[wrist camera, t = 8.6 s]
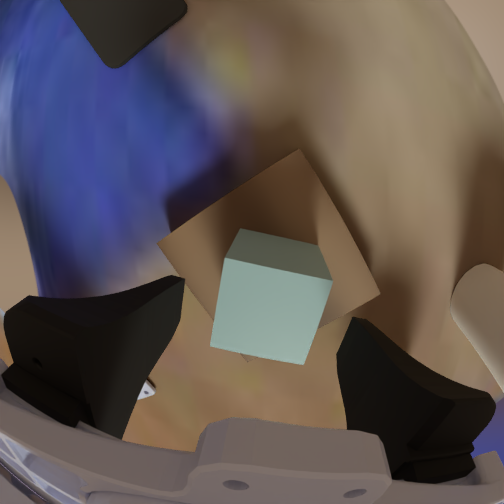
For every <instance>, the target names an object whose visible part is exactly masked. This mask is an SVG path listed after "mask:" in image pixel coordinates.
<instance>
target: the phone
mask: <svg viewBox="0 0 504 504" xmlns="http://www.w3.org/2000/svg"><path fill="white" fill-rule="evenodd" d="M60 2H61V3H62V4H63V6H64V7H65V9H66V10H67V11H68V13H69V14H70V16H71V17H72V19H73V20H74V21H75V23H76V24H77V26H78V27H79V29H80V30H81V31H82V33H83V34H84V36H85V37H86V38H87V40H88V41H89V43H90V44H91V46H92V47H93V48H94V50H95V51H96V53H97V54H98V55H99V57H100V58H101V60H102V61H103V62H104V64H105V65H106V66H108V67H110V68H119V67H121V66H123V65H124V64H126V63H127V62H128V61H129V60H130V59H131V58H132V57H134V56H135V55H136V54H137V53H138V52H139V51H141V50H142V49H143V48H144V47H145V46H147V45H148V44H149V43H150V42H151V41H153V40H154V39H155V38H156V37H158V36H159V35H160V34H162V33H163V32H164V31H165V30H167V29H168V28H169V27H171V26H172V25H173V24H175V23H176V22H178V21H179V20H180V19H181V18H182V17H183V16H184V15H185V14H186V12H187V4H186V3H185V1H184V0H60Z"/></svg>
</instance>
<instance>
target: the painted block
mask: <svg viewBox="0 0 504 504" xmlns="http://www.w3.org/2000/svg"><path fill="white" fill-rule="evenodd" d="M332 284H333V279H332V276H331V274H330V272H329V269H328V267H327V264H326V262H325V260H324V257H323V255H322V253H321V250H320V248H319V246H318V245H314V244H310V243H305V242H301V241H297V240H292V239H288V238H283V237H278V236H274V235H269V234H265V233H260V232H255V231H251V230H246V229H241V228H240V230H239V232H238V234H237V235H236V237H235V239H234V241H233V243H232V245H231V247H230V249H229V250H228V252H227V254H226V256H225V259H224V264H223V270H222V276H221V282H220V288H219V294H218V300H217V306H216V312H215V318H214V324H213V331H212V337H211V343H210V346H211V347H216V348H220V349H224V350H229V351H233V352H238V353H242V354H247V355H252V356H257V357H262V358H267V359H272V360H278V361H283V362H289V363H295V364H301V365H304V362H305V360H306V357H307V354H308V352H309V349H310V347H311V344H312V341H313V338H314V336H315V333H316V330H317V328H318V325H319V322H320V319H321V316H322V313H323V311H324V308H325V305H326V302H327V299H328V296H329V293H330V290H331V287H332Z"/></svg>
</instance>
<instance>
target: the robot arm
mask: <svg viewBox="0 0 504 504" xmlns="http://www.w3.org/2000/svg"><path fill="white" fill-rule="evenodd" d="M184 285H185V278H181V277H177V276H173V275H170V276H166V277H163V278H161V279H158V280H155V281H153V282H150V283H147V284H144V285H142V286H139V287H136V288H132V289H129V290H126V291H123V292H119V293H115V294H110V295H105V296H98V297H89V298H76V299H60V298H46V297H37V296H30V295H29V296H27V297H26V298H24V299H23V300H21V301H20V302H19V303H17V304H16V305H14V306H13V307H12V308H10V309H9V310H8V311H6V313H5V316H4V331H5V336H6V339H7V343H8V346H9V349H10V352H11V356H12V359H13V362H14V363H13V364H12V365H11V366H10V367H9V368H8V366H7V365H6V364H5V362H4V361H3V360H2V359H0V462H1V463H2V464H3V465H4V466H5V467H6V468H7V469H8V470H9V471H10V472H11V473H13V474H14V475H15V476H16V477H17V478H18V479H20V480H21V481H22V482H23V483H24V484H26V485H27V486H28V487H29V488H31V489H32V490H33V491H34V492H36V493H37V494H38V495H40V496H41V497H42V498H44V499H45V500H46V501H45V500H43V499H42V498H40V497H39V496H38V495H36V494H35V493H34V492H33V491H31V490H30V489H29V488H27V487H26V486H25V485H24V484H23V483H21V482H20V481H19V480H18V479H17V478H15V477H14V476H13V475H12V474H11V473H10V472H9V471H8V470H6V469H5V468H4V467H3V466H2V465H1V464H0V504H503V503H504V467H503V464H502V462H501V460H500V458H499V456H498V454H497V452H496V451H492V452H488V453H484V454H481V455H478V456H476V457H475V458H473V459H472V456H471V454H470V453H471V452H473V451H474V446H473V444H472V442H473V441H474V440H475V439H476V438H477V436H478V435H479V434H480V433H481V432H482V431H483V430H484V428H485V427H486V426H487V425H488V423H489V422H490V421H491V419H492V417H493V415H494V413H495V409H496V404H495V402H494V400H493V398H492V397H491V395H490V394H489V393H488V392H485V391H481V390H478V389H474V388H471V387H468V386H465V385H462V384H460V383H457V382H455V381H452V380H450V379H448V378H446V377H444V376H442V375H440V374H438V373H436V372H434V371H433V370H431V369H429V368H428V367H426V366H424V365H423V364H421V363H420V362H418V361H417V360H415V359H414V358H413V357H411V356H410V355H409V354H407V353H406V352H405V351H404V350H402V349H401V348H400V347H399V346H397V345H396V344H395V343H394V342H393V341H392V340H390V339H389V338H388V337H387V336H386V335H385V334H384V333H382V332H381V331H380V330H379V329H378V328H377V327H375V326H374V325H373V324H372V323H370V322H369V321H367V320H366V319H362V318H356V317H352V320H351V322H350V325H349V327H348V329H347V332H346V334H345V336H344V339H343V341H342V343H341V345H340V348H339V350H338V352H337V354H336V356H337V374H338V379H339V384H340V389H341V393H342V398H343V403H344V408H345V413H346V421H347V430H342V429H329V428H318V427H309V426H301V425H293V424H286V423H280V422H273V421H267V420H262V419H256V418H235V417H232V418H228V419H224V420H221V421H217V422H214V423H210V424H208V426H207V427H206V428H205V429H204V431H203V432H202V433H201V434H200V437H199V441H198V444H197V448H196V451H195V452H188V451H179V450H172V449H165V448H158V447H152V446H146V445H141V444H135V443H130V442H126V441H123V440H122V437H123V434H124V432H125V429H126V426H127V424H128V421H129V418H130V416H131V413H132V411H133V409H134V406H135V404H136V401H137V400H139V399H142V398H145V397H148V396H151V395H154V394H155V392H156V389H155V388H154V387H153V386H152V385H151V384H150V383H149V382H148V381H147V380H146V379H147V377H148V376H149V374H150V372H151V370H152V369H153V367H154V366H155V364H156V363H157V361H158V359H159V358H160V356H161V355H162V353H163V352H164V350H165V348H166V347H167V345H168V344H169V342H170V341H171V339H172V337H173V335H174V333H175V331H176V328H177V326H178V324H179V322H180V318H181V309H182V301H183V293H184ZM47 501H48V502H47Z"/></svg>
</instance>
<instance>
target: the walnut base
mask: <svg viewBox="0 0 504 504" xmlns="http://www.w3.org/2000/svg"><path fill="white" fill-rule="evenodd" d="M240 228H241V229H246V230H251V231H255V232H260V233H265V234H269V235H274V236H278V237H283V238H288V239H292V240H297V241H301V242H305V243H310V244H314V245H318V246H319V248H320V250H321V253H322V255H323V257H324V260H325V262H326V264H327V267H328V269H329V272H330V274H331V276H332V279H333V284H332V287H331V290H330V293H329V296H328V299H327V302H326V305H325V308H324V311H323V313H322V316H321V319H320V322H319V325H318V328H320V327H322V326H324V325H326V324H328V323H330V322H332V321H334V320H335V319H337V318H339V317H341V316H343V315H345V314H347V313H348V312H350V311H352V310H354V309H356V308H357V307H359V306H361V305H363V304H364V303H366V302H368V301H370V300H371V299H373V298H375V297H377V296H378V295H380V294H381V293H380V291H379V289H378V287H377V285H376V283H375V281H374V279H373V277H372V275H371V273H370V271H369V269H368V267H367V265H366V263H365V261H364V259H363V257H362V255H361V253H360V251H359V249H358V247H357V245H356V243H355V241H354V240H353V238H352V236H351V234H350V232H349V230H348V228H347V227H346V225H345V223H344V221H343V219H342V218H341V216H340V214H339V212H338V211H337V209H336V207H335V205H334V204H333V202H332V200H331V198H330V197H329V195H328V193H327V192H326V190H325V188H324V187H323V185H322V183H321V182H320V180H319V178H318V177H317V175H316V173H315V172H314V170H313V169H312V167H311V165H310V164H309V162H308V161H307V159H306V157H305V156H304V154H303V153H302V151H301V150H300V148H299V149H298V150H296V151H294V152H293V153H291V154H289V155H288V156H286V157H284V158H283V159H281V160H280V161H278V162H276V163H275V164H273V165H272V166H270V167H268V168H267V169H265V170H264V171H262V172H260V173H259V174H257V175H256V176H254V177H253V178H251V179H250V180H248V181H246V182H245V183H243V184H242V185H240V186H239V187H237V188H236V189H234V190H233V191H231V192H230V193H228V194H227V195H225V196H224V197H222V198H221V199H219V200H218V201H216V202H215V203H213V204H212V205H210V206H209V207H207V208H206V209H204V210H203V211H202V212H200V213H199V214H197V215H196V216H194V217H193V218H191V219H190V220H189V221H187V222H186V223H184V224H183V225H181V226H180V227H179V228H177V229H176V230H174V231H173V232H172V233H170V234H169V235H167V236H166V237H165V238H163V239H162V240H161V241H159V242H158V243H157V245H158V246H159V248H160V249H161V250H162V252H163V253H164V255H165V256H166V257H167V259H168V260H169V262H170V263H171V264H172V266H173V267H174V269H175V270H176V271H177V273H178V274H179V275H180V277H181V278H185V284H186V285H187V286H188V288H189V289H190V290H191V292H192V293H193V294H194V296H195V297H196V298H197V300H198V301H199V302H200V304H201V305H202V306H203V308H204V309H205V310H206V311H207V313H208V314H209V315H210V317H211V318H212V319H213V320H214V318H215V312H216V306H217V300H218V294H219V288H220V282H221V276H222V270H223V264H224V259H225V256H226V254H227V252H228V250H229V249H230V247H231V245H232V243H233V241H234V239H235V237H236V235H237V234H238V232H239V230H240ZM318 328H317V329H318ZM240 354H241V355H242V356H243V358H244V359H245V360H246V361H247V362H249V361H251V360H253V359H256V358H258V357H257V356H252V355H247V354H242V353H240Z"/></svg>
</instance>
